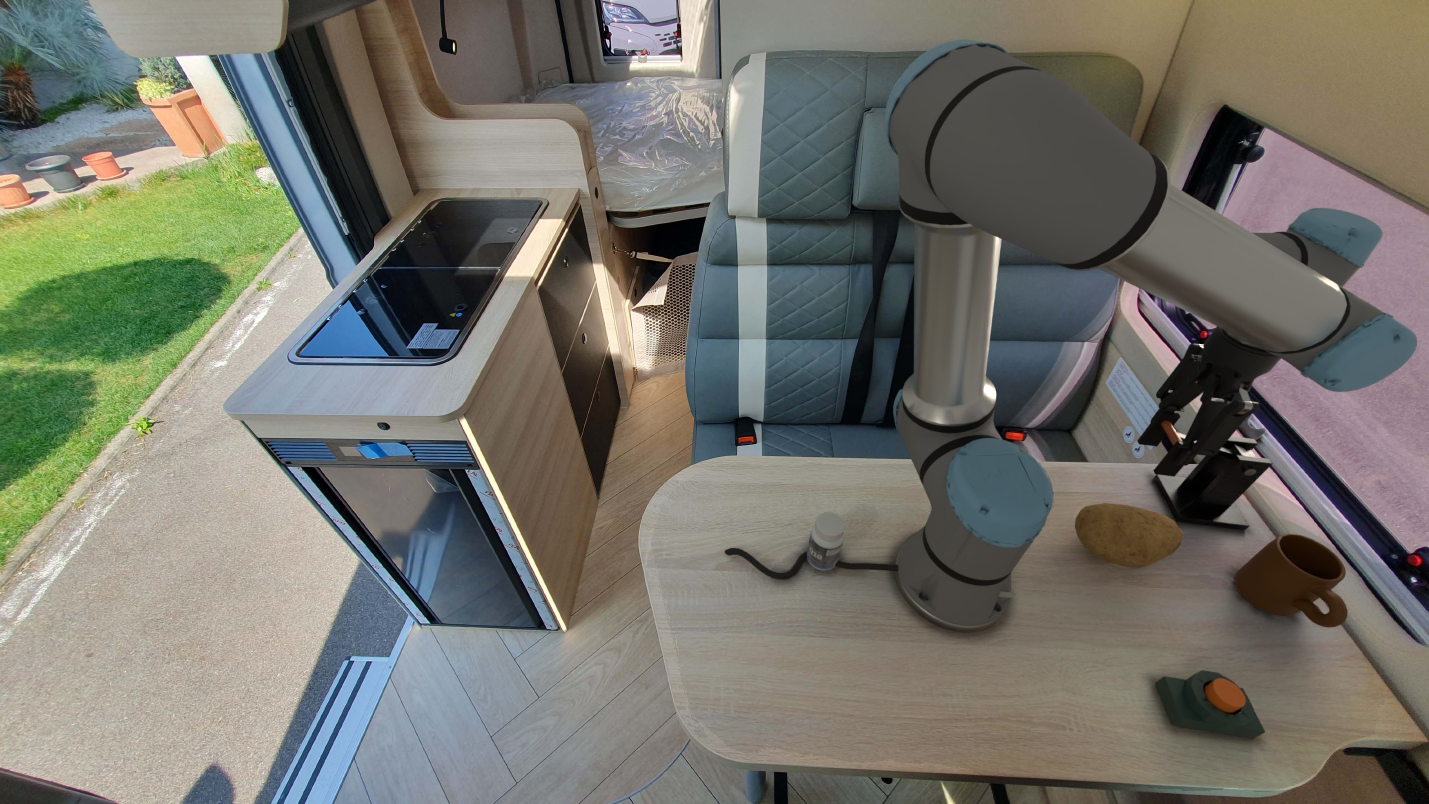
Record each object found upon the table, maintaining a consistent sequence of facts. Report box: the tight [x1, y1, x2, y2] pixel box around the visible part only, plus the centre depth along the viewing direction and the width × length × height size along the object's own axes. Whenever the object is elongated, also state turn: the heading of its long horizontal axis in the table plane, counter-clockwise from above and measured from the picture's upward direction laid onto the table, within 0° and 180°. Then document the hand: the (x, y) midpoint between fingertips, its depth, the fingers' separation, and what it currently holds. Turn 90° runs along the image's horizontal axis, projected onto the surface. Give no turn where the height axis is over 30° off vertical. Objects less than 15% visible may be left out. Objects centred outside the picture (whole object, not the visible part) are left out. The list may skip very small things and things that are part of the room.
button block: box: [1154, 669, 1266, 740], centre depth 69 cm, size 9×6×4 cm
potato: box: [1074, 502, 1184, 569], centre depth 84 cm, size 10×14×8 cm
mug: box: [1234, 533, 1349, 629], centre depth 77 cm, size 12×8×9 cm, turn 172°
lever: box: [1161, 421, 1257, 464], centre depth 86 cm, size 13×6×2 cm, turn 81°
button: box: [1205, 679, 1246, 713], centre depth 67 cm, size 3×3×2 cm
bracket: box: [1153, 436, 1273, 531], centre depth 89 cm, size 10×9×13 cm
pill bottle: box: [806, 511, 846, 571], centre depth 82 cm, size 5×5×8 cm
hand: (1155, 458), depth 88 cm, fingers closed on lever, 5 cm apart
